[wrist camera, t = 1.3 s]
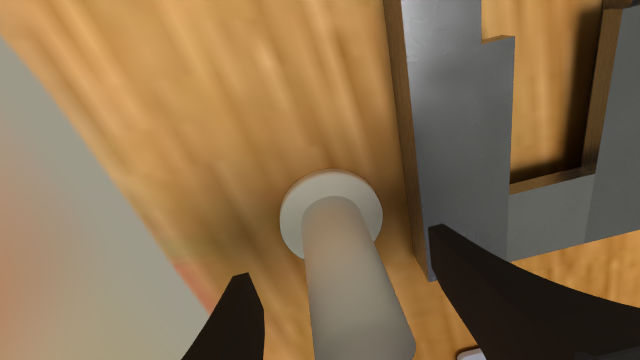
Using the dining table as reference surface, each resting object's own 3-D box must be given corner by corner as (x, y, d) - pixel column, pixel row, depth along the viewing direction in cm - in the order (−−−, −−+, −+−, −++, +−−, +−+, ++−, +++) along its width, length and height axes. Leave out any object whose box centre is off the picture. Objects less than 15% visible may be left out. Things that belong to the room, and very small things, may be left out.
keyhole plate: (622, 203, 19) (661, 224, 17) (414, 255, 19) (428, 282, 17) (748, -369, 10) (857, -458, 8) (350, -269, 10) (367, -335, 8)
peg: (384, 240, 18) (451, 385, 11) (294, 263, 18) (303, 423, 11) (370, 157, 16) (444, 271, 9) (267, 182, 16) (257, 318, 9)
